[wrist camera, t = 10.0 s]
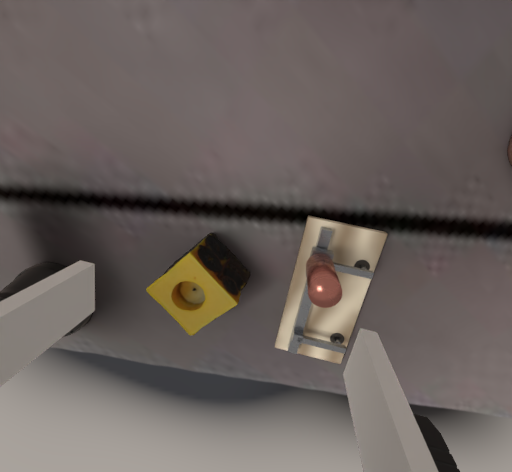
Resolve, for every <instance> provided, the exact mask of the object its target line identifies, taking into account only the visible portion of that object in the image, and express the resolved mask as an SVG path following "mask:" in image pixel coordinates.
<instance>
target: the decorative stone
mask: <svg viewBox="0 0 512 472" xmlns="http://www.w3.org/2000/svg"><path fill="white" fill-rule="evenodd" d="M508 158H509V162H510V164H511V165H512V136H511V138H510V141H509V146H508Z"/></svg>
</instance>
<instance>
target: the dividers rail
mask: <svg viewBox="0 0 512 472" xmlns="http://www.w3.org/2000/svg"><path fill="white" fill-rule="evenodd" d="M332 232H333V231H332V229H331V228H326V227H322V226H321V228H320V232H319V236H318V239H317V243H316V247H319V248H323V249H328V246H329V242H330V239H331V235H332ZM311 304H312V302H311V300H310V299H309V296H308V286H307V279H306V283H305V286H304V290H303V293H302V297H301V301H300V304H299V308H298V311H297V315H296V319H295V322H294V326H293V330H292V333H291V337H290V340H289V344H288V352H290V353H294V354H297V351H298V348H299V344H301V343H303V344H307V345H311V346H315V347H319V348H323V349H327V350H331V351H335V352H339V353H343V354H345V352H346V346H345V345H341V341H340V338H339V337H335V338H334V341H335V343H333V342H329V341H325V340H321V339H317V338H313V337H308V336H304V335H303V331H304V327H305V324H306V321H307V317H308V314H309V310H310V307H311Z"/></svg>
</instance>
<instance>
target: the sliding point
mask: <svg viewBox="0 0 512 472" xmlns="http://www.w3.org/2000/svg"><path fill="white" fill-rule="evenodd" d="M333 256H334V254H333V251H332V250H328V249H323V248H319V247H314V246H313V247H312V250H311V254H310V258H309V259H308V260H307V262H306V277H307V286H308V296H309V299H310V300H311V302H312V303H313V304H315V305H316V306H318V307H322V308H329V307H332V306H335V305H336V304H337V303H339V301H340V300H341V298H342V288H341V285H340V282H339V279H338V276H337V273H336V271H338V272H342V273H347V274H351V275H355V276H360V277H364V278H369V279H372V277H373V275H374V272H373V271H370V270H367V268H366V267H365V266H364V265H360V266H359V268H357V267H353V266H348V265H344V264H340V263H335V262H333V261H332V260H333Z"/></svg>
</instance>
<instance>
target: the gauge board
mask: <svg viewBox="0 0 512 472" xmlns="http://www.w3.org/2000/svg"><path fill="white" fill-rule="evenodd" d="M321 226H322V227H326V228H331V229H332V231H333V232H332V235H331V239H330V242H329V246H328V250H332V251H333V254H334V256H333V260H332V261H333V262H335V263H340V264H344V265H348V266H353V267H357V268H359V266H360V265H364V266H365V267H366V268H367V270H370V271H373V272H374V270H375V267H376V265H377V262H378V259H379V256H380V254H381V251H382V248H383V245H384V243H385V240H386V237H387V233H386V232H383V231H379V230H374V229H369V228H365V227H360V226H355V225H351V224H346V223H341V222H337V221H332V220H328V219H323V218H318V217H314V216H309V215H308V218H307V222H306V226H305V230H304V234H303V238H302V241H301V245H300V249H299V253H298V257H297V261H296V265H295V269H294V272H293V276H292V280H291V284H290V288H289V292H288V296H287V300H286V304H285V307H284V311H283V315H282V319H281V323H280V327H279V331H278V335H277V338H276V342H275V348H279V349H283V350H287V351H288V344H289V340H290V337H291V333H292V330H293V326H294V322H295V319H296V315H297V311H298V308H299V304H300V301H301V297H302V293H303V290H304V286H305V283H306V279H307V277H306V262H307V260H308V259H309V258H310V254H311V250H312V247H313V246H314V247H316V243H317V239H318V236H319V232H320V228H321ZM336 273H337V276H338V279H339V282H340V285H341V288H342V298H341V300H340V301H339V303H337V304H336V305H335V306H332V307H329V308H322V307H318V306H316V305H315V304H313V303H312V304H311V307H310V310H309V314H308V317H307V321H306V324H305V327H304V331H303V335H304V336H308V337H313V338H317V339H321V340H325V341H329V342H333V343H335V341H334V338H335V337H339V338H340V341H341V345H345V346H346V347H347V344H348V342H349V339H350V336H351V333H352V331H353V328H354V325H355V322H356V320H357V317H358V314H359V311H360V309H361V306H362V303H363V300H364V298H365V295H366V292H367V289H368V287H369V284H370V281H371V279H369V278H364V277H360V276H355V275H351V274H347V273H342V272H338V271H336ZM297 353H298V354H302V355H306V356H310V357H314V358H318V359H322V360H326V361H330V362H334V363H338V364H341V361H342V358H343V355H344V354H343V353H339V352H335V351H331V350H327V349H323V348H319V347H315V346H311V345H307V344H303V343H301V344H299V348H298V351H297Z"/></svg>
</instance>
